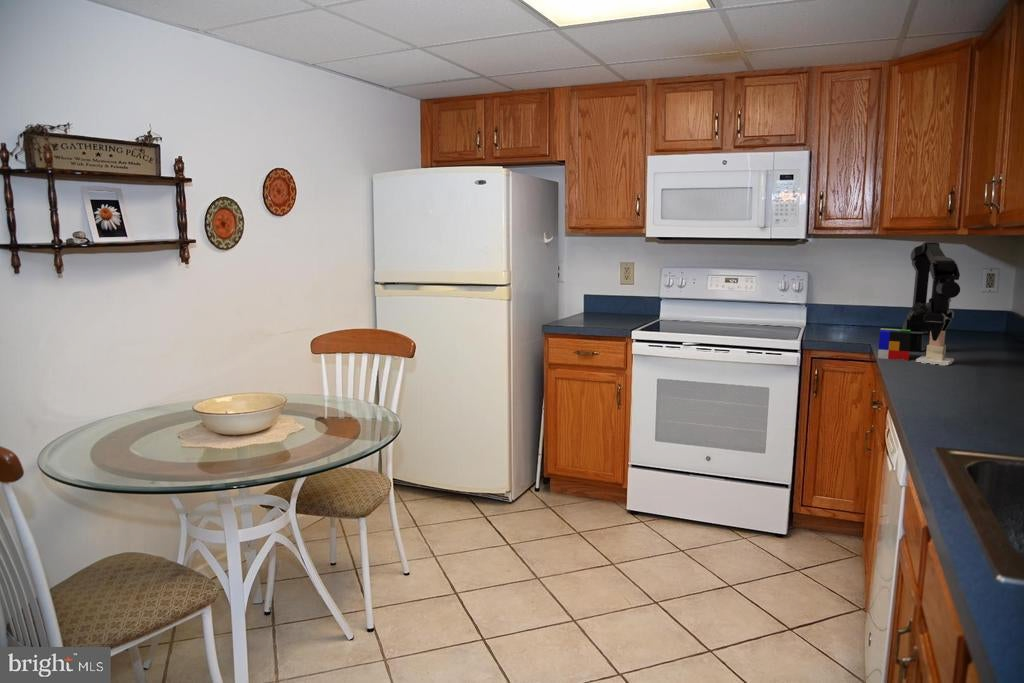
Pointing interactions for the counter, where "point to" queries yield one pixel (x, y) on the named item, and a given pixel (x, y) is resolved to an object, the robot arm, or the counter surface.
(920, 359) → the building plate
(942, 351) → the maple brick
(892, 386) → the counter surface
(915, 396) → the counter surface
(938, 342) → the terracotta brick
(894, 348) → the puzzle toy
